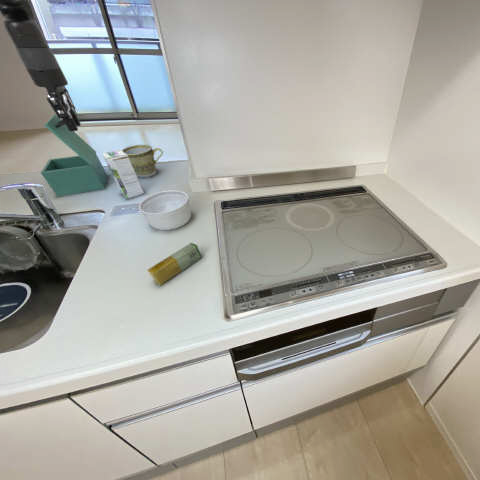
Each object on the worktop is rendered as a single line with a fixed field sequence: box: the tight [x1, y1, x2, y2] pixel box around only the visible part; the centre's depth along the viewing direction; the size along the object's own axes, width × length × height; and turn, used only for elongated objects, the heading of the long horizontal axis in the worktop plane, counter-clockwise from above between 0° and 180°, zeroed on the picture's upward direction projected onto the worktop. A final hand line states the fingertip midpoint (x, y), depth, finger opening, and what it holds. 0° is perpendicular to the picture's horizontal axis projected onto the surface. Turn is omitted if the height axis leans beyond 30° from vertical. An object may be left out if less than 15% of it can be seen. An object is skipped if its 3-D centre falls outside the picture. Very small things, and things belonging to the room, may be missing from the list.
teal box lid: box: [44, 114, 97, 165], centre depth 87 cm, size 14×12×5 cm
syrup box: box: [102, 149, 145, 200], centre depth 87 cm, size 6×6×14 cm
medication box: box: [147, 242, 203, 286], centre depth 64 cm, size 12×3×4 cm, turn 149°
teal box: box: [40, 153, 108, 197], centre depth 92 cm, size 14×12×9 cm
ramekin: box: [138, 189, 192, 231], centre depth 78 cm, size 13×13×7 cm
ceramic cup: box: [121, 144, 164, 178], centre depth 101 cm, size 13×10×10 cm
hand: (75, 128), depth 85 cm, fingers closed on teal box lid, 5 cm apart
